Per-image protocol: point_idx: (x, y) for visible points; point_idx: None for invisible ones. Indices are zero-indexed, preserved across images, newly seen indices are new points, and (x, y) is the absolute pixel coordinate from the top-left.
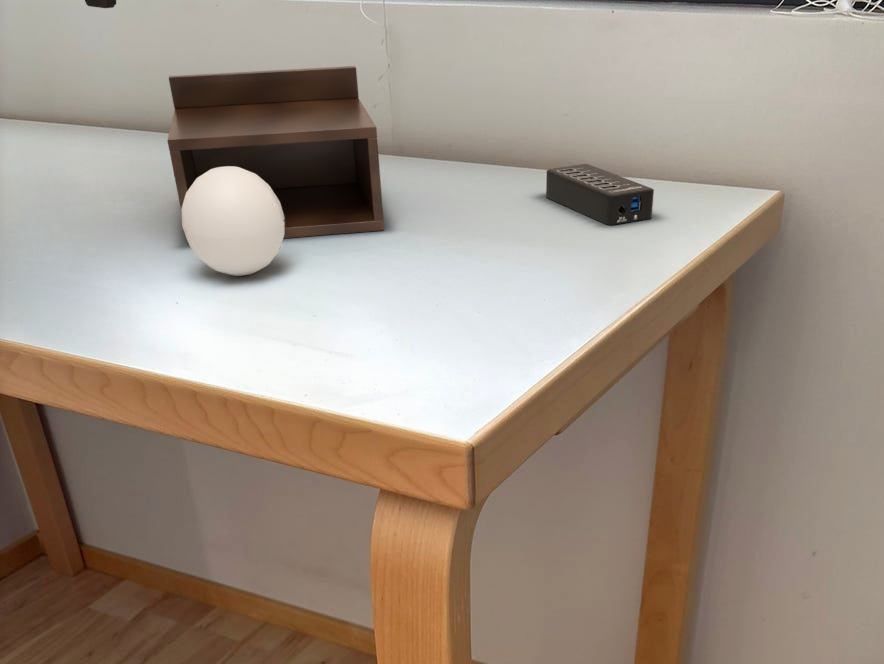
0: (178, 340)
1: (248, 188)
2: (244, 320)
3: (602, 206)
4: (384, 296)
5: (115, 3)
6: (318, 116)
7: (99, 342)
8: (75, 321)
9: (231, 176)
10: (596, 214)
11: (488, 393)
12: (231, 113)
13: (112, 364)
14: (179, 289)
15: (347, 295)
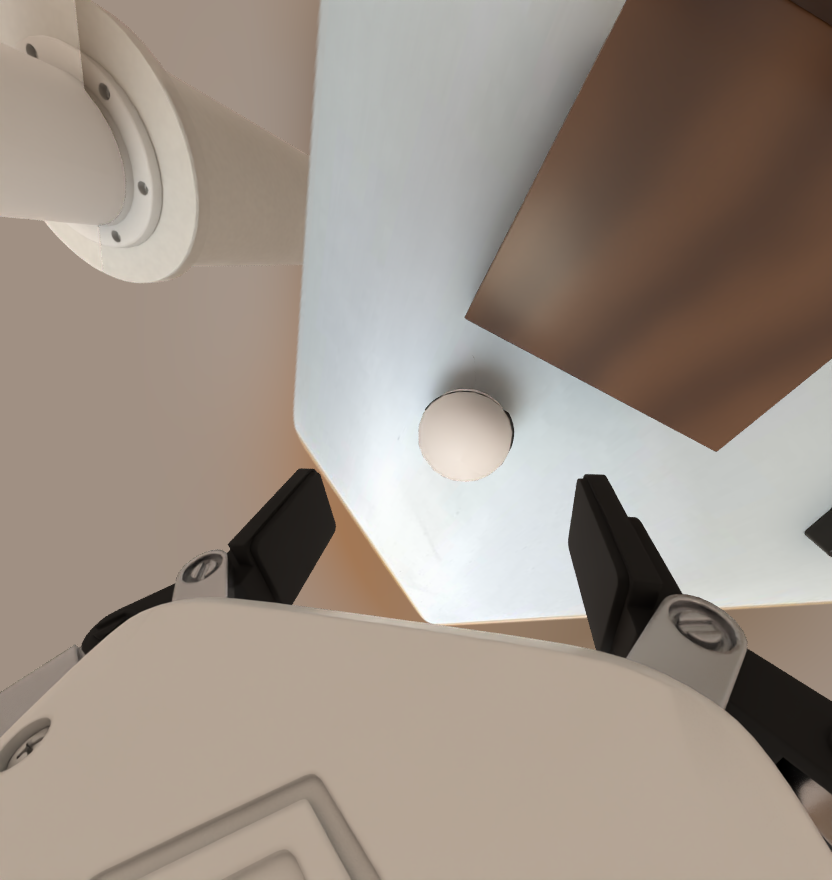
0: (376, 489)
1: (465, 480)
2: (420, 491)
3: (827, 535)
4: (513, 518)
5: (334, 528)
6: (750, 323)
7: (337, 463)
8: (332, 422)
9: (456, 474)
10: (826, 520)
11: (461, 613)
12: (691, 147)
13: (337, 492)
14: (411, 413)
15: (496, 501)
